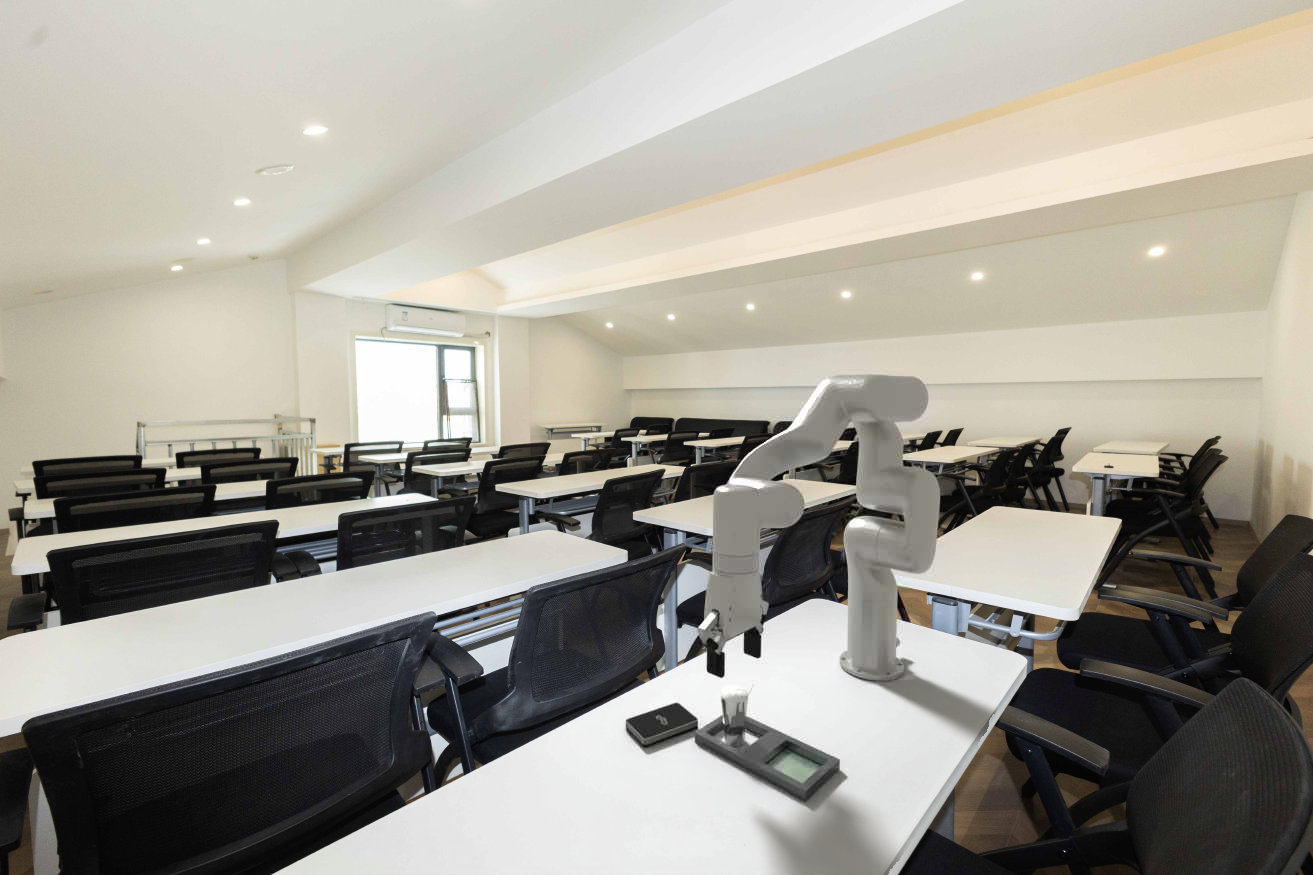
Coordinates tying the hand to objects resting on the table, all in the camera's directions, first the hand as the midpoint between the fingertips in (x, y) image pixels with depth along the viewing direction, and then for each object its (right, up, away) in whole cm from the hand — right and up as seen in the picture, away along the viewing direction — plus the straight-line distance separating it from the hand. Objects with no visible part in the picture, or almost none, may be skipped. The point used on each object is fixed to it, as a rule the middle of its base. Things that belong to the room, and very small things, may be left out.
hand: (734, 664), depth 96 cm
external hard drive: (-12, -14, +5) cm, 19 cm away
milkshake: (+1, -13, +1) cm, 14 cm away
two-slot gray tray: (+4, -14, -2) cm, 14 cm away
